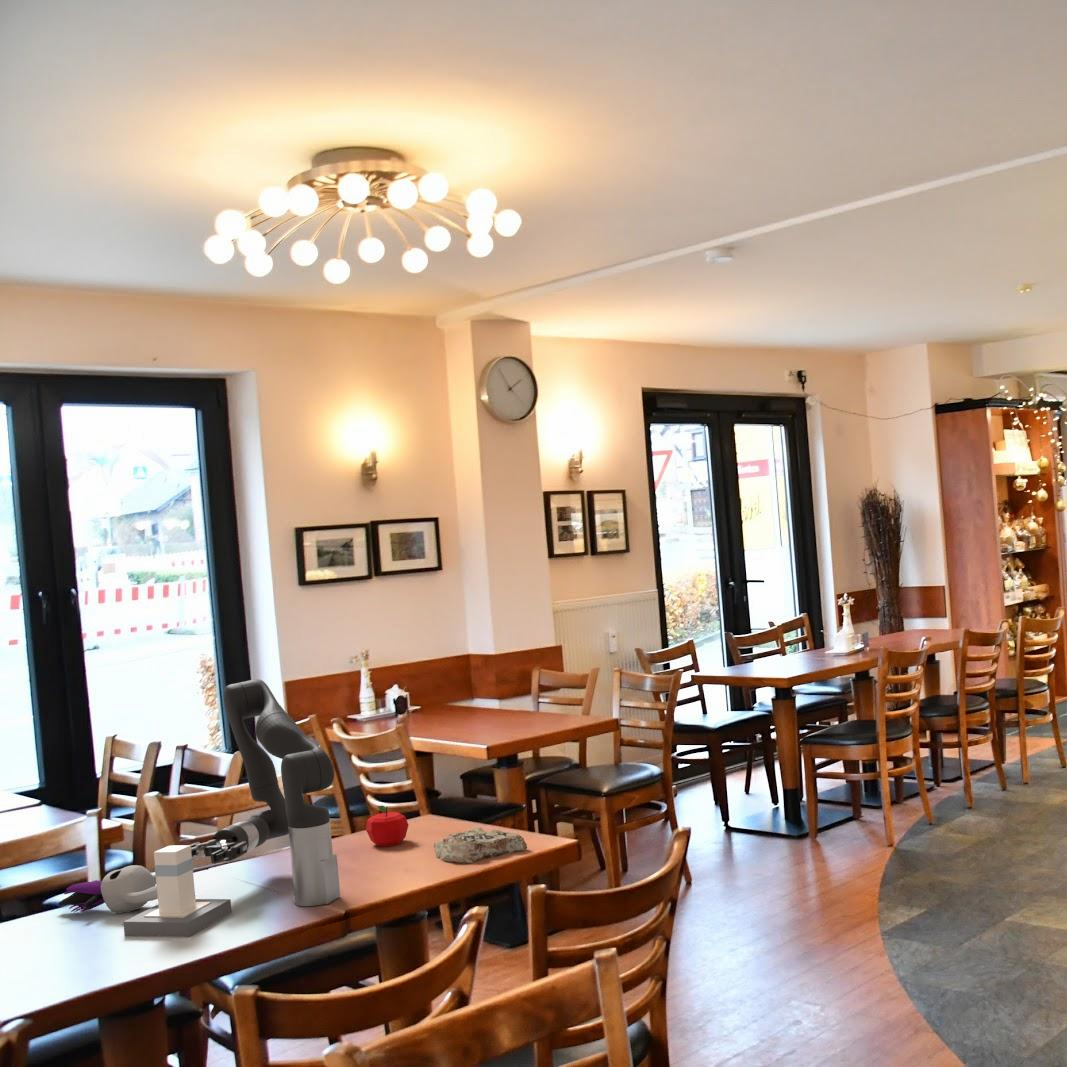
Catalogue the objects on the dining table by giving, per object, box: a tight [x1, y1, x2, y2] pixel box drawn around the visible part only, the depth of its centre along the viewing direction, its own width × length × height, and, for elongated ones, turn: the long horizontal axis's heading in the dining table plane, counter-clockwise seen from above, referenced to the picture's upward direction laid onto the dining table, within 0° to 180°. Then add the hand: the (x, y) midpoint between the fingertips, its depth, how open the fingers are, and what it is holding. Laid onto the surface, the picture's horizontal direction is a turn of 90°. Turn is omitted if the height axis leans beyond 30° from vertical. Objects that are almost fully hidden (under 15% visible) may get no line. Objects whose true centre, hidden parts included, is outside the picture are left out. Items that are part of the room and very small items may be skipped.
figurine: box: [57, 864, 158, 914], centre depth 275 cm, size 16×10×30 cm
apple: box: [365, 805, 409, 848], centre depth 317 cm, size 11×11×10 cm
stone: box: [433, 827, 528, 864], centre depth 301 cm, size 19×6×25 cm
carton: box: [153, 844, 196, 913], centre depth 259 cm, size 6×6×13 cm
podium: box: [122, 898, 232, 938], centre depth 259 cm, size 16×16×3 cm
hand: (195, 859), depth 267 cm, fingers open, 8 cm apart
